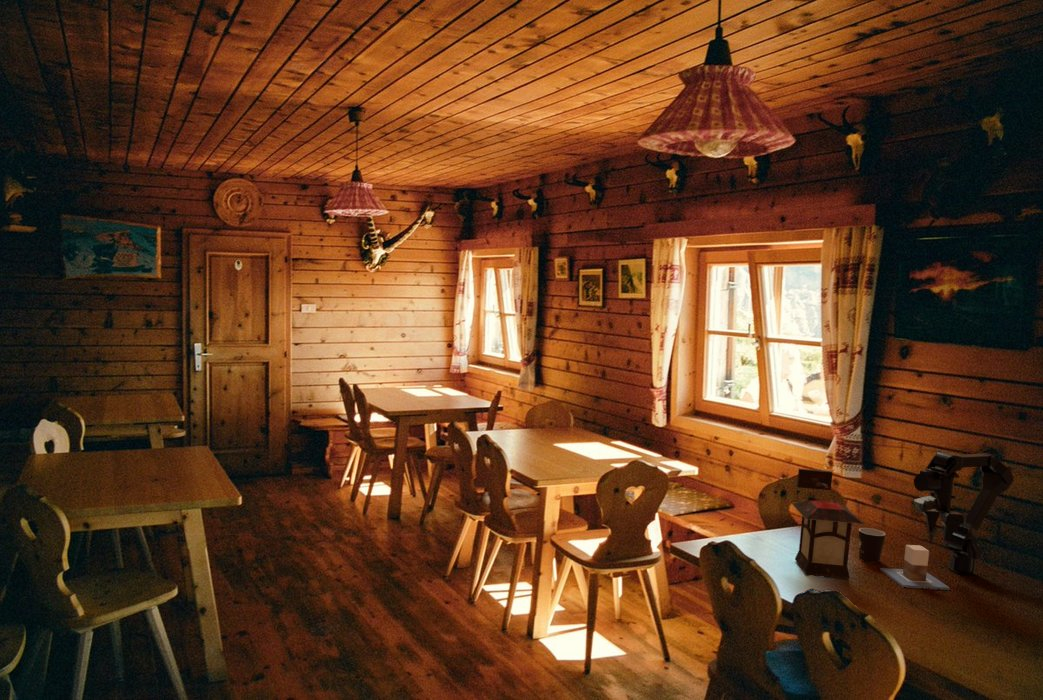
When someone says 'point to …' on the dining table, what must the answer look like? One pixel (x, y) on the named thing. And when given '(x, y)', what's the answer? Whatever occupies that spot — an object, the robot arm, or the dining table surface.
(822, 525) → the lantern
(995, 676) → the dining table surface
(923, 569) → the walnut block
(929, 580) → the board
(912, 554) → the cream block
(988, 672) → the dining table surface
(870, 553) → the coffee mug
